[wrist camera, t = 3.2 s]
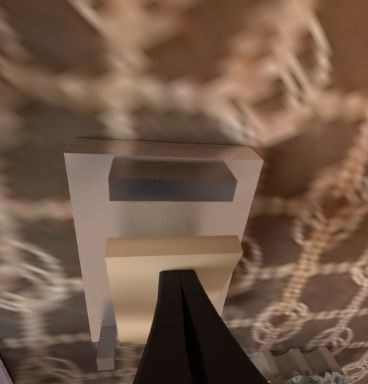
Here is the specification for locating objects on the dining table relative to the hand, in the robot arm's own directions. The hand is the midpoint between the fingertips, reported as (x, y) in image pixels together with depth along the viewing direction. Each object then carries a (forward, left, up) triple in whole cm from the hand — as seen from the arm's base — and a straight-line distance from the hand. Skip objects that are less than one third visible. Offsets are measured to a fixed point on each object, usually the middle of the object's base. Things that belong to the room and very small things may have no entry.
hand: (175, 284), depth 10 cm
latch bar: (-3, 0, -2) cm, 4 cm away
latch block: (-3, 0, -5) cm, 6 cm away
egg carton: (-21, -15, -6) cm, 26 cm away
